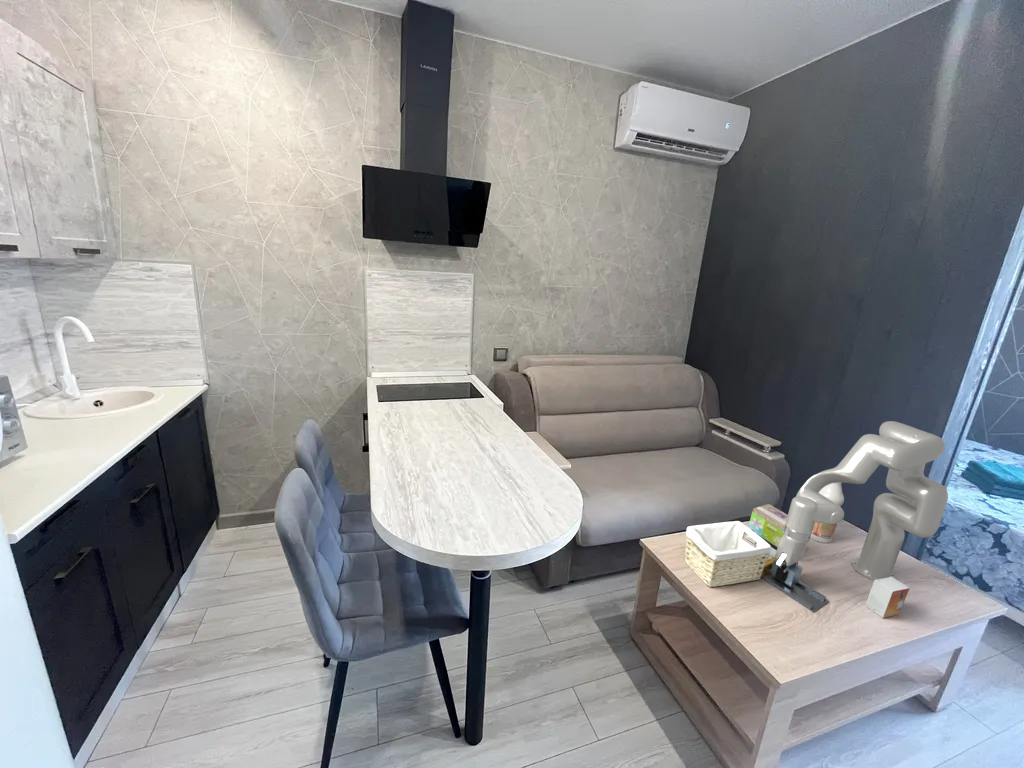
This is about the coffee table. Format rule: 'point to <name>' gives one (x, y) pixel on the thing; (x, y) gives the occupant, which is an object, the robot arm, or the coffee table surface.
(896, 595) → the small box
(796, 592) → the dock
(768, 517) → the tea box
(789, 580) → the block
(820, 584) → the coffee table surface
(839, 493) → the fruit juice
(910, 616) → the coffee table surface
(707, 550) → the storage basket
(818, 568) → the coffee table surface
